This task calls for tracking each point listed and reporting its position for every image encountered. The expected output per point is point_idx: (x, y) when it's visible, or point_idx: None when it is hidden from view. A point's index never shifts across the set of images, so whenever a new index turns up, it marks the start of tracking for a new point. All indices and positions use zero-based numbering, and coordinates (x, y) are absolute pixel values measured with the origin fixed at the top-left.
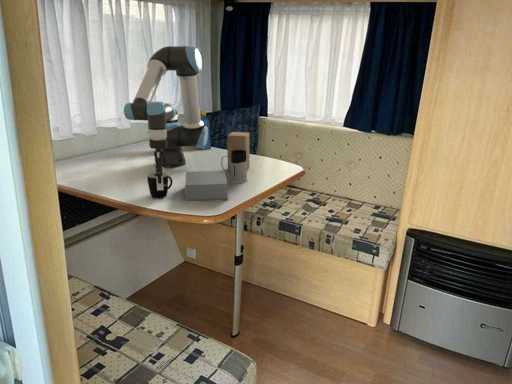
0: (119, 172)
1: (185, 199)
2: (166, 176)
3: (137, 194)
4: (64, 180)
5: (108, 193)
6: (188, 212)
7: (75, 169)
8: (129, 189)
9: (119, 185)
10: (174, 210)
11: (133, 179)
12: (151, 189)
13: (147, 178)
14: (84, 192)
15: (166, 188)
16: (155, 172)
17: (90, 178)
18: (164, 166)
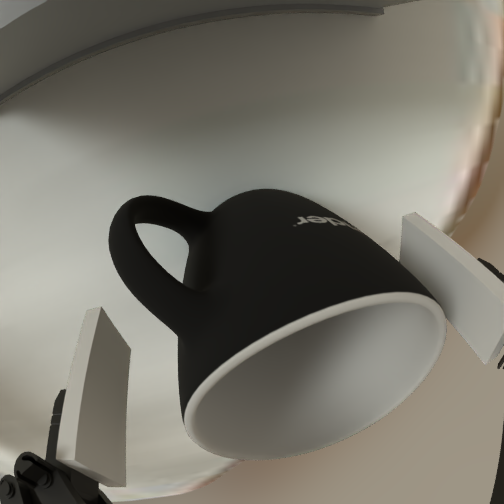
0: (21, 452)
1: (370, 11)
2: (407, 286)
3: None
4: (152, 496)
5: None
6: (492, 27)
7: None
8: (163, 412)
9: (130, 442)
10: (480, 92)
11: (41, 424)
12: (344, 316)
13: (336, 417)
14: (233, 465)
15: (318, 206)
16: (217, 450)
17: None
18: (41, 459)
